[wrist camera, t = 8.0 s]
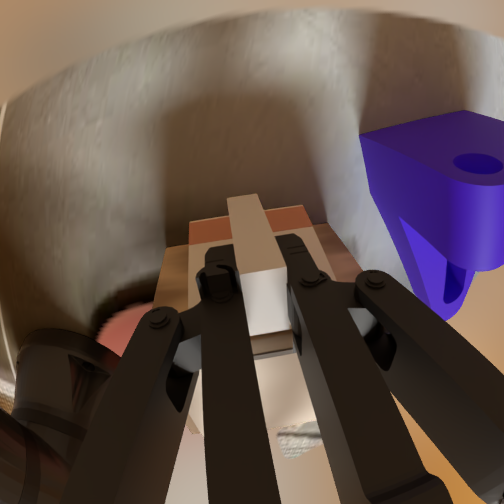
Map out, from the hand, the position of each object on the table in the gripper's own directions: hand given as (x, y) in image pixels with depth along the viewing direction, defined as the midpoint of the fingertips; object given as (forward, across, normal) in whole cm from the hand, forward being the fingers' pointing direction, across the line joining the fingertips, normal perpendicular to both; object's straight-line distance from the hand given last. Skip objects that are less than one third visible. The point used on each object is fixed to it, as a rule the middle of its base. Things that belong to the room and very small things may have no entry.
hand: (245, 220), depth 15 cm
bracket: (+6, +16, -5) cm, 18 cm away
